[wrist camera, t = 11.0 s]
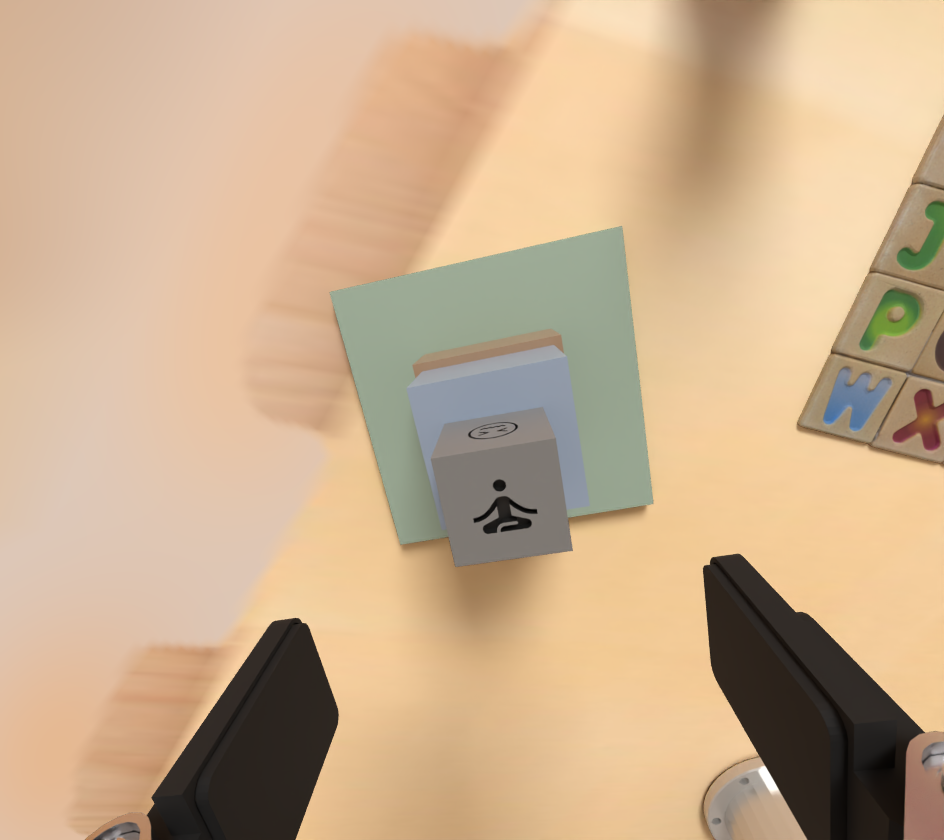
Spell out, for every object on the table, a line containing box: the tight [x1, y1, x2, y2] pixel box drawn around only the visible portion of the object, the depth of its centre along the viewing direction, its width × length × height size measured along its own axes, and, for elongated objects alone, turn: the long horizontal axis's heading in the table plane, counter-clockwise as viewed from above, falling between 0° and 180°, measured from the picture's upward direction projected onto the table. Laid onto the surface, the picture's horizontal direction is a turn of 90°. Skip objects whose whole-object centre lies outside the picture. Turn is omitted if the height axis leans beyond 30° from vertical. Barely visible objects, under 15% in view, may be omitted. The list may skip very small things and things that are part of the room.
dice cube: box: [431, 407, 573, 567], centre depth 21 cm, size 5×5×5 cm
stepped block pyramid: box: [330, 226, 653, 545], centre depth 28 cm, size 20×20×11 cm
